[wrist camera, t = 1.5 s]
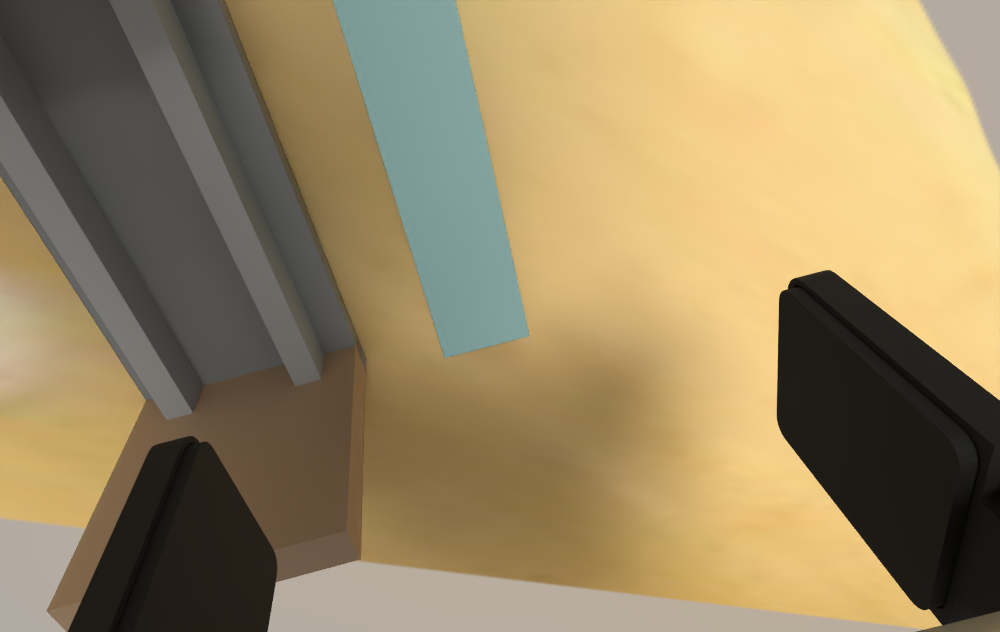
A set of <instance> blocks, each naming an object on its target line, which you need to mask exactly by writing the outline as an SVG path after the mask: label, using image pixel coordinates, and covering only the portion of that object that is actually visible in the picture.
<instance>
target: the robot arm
mask: <svg viewBox="0 0 1000 632" xmlns="http://www.w3.org/2000/svg"><path fill="white" fill-rule="evenodd" d="M777 421H778V425H779V428H780V431H781V433H782V435H783V436H784V438H785V439H786V441H787V442H788V443H789V445H790V446H791V447H792V448H793V450H794V451H795V452H796V454H797V455H798V456H799V457H800V459H801V460H802V461H803V463H804V464H805V465H806V466H807V468H808V469H809V470H810V472H811V473H812V474H813V475H814V477H815V478H816V479H817V481H818V482H819V483H820V484H821V486H822V487H823V488H824V490H825V491H826V492H827V493H828V495H829V496H830V497H831V499H832V500H833V501H834V502H835V504H836V505H837V506H838V508H839V509H840V510H841V511H842V513H843V514H844V515H845V517H846V518H847V519H848V520H849V522H850V523H851V524H852V526H853V527H854V528H855V529H856V531H857V532H858V533H859V535H860V536H861V537H862V538H863V540H864V541H865V542H866V544H867V545H868V546H869V547H870V549H871V550H872V551H873V553H874V554H875V555H876V556H877V558H878V559H879V560H880V562H881V563H882V564H883V565H884V567H885V568H886V569H887V571H888V572H889V573H890V574H891V576H892V577H893V578H894V580H895V581H896V582H897V583H898V585H899V586H900V587H901V589H902V590H903V591H904V592H905V594H906V595H907V596H908V598H909V599H910V600H911V601H912V602H913V603H914V604H915V605H916V606H917V607H918V608H920V609H922V610H927V609H930V610H931V611H932V613H933V614H934V615H935V616H936V618H937V619H938V620H939V621H940V623H941V624H942V626H938V627H934V628H930V629H926V630H921V631H917V632H1000V400H998V399H997V398H996V397H994V396H993V395H992V394H990V393H989V392H988V391H987V390H985V389H984V388H983V387H981V386H980V385H979V384H978V383H976V382H975V381H974V380H972V379H971V378H970V377H969V376H967V375H966V374H965V373H963V372H962V371H961V370H959V369H958V368H957V367H956V366H954V365H953V364H952V363H950V362H949V361H948V360H947V359H945V358H944V357H943V356H941V355H940V354H939V353H938V352H936V351H935V350H934V349H932V348H931V347H930V346H929V345H927V344H926V343H925V342H923V341H922V340H921V339H919V338H918V337H917V336H916V335H914V334H913V333H912V332H910V331H909V330H908V329H907V328H905V327H904V326H903V325H901V324H900V323H899V322H898V321H896V320H895V319H894V318H892V317H891V316H890V315H889V314H887V313H886V312H885V311H883V310H882V309H881V308H879V307H878V306H877V305H876V304H874V303H873V302H872V301H870V300H869V299H868V298H867V297H865V296H864V295H863V294H861V293H860V292H859V291H858V290H856V289H855V288H854V287H852V286H851V285H850V284H848V283H847V282H846V281H845V280H843V279H842V278H841V277H839V276H838V275H837V274H836V273H834V272H832V271H830V270H825V271H821V272H817V273H814V274H810V275H806V276H802V277H798V278H794V279H793V280H791V281H790V283H789V285H788V290H784V291H782V292H781V294H780V298H779V333H778V382H777ZM276 577H277V559H276V555H275V552H274V550H273V548H272V546H271V544H270V543H269V541H268V539H267V537H266V536H265V534H264V532H263V531H262V529H261V527H260V526H259V524H258V522H257V521H256V519H255V517H254V516H253V514H252V512H251V511H250V509H249V507H248V506H247V504H246V502H245V500H244V499H243V497H242V495H241V494H240V492H239V490H238V489H237V487H236V485H235V484H234V482H233V480H232V479H231V477H230V475H229V474H228V472H227V470H226V469H225V467H224V465H223V463H222V462H221V460H220V458H219V457H218V455H217V453H216V452H215V450H214V448H213V447H212V446H211V444H210V443H208V442H205V441H204V442H199V441H198V439H196V438H195V437H194V436H186V437H183V438H179V439H175V440H171V441H167V442H163V443H160V444H156V445H154V446H152V447H151V449H150V450H149V452H148V454H147V456H146V458H145V461H144V463H143V465H142V467H141V469H140V472H139V474H138V476H137V478H136V481H135V483H134V485H133V487H132V489H131V492H130V494H129V496H128V498H127V501H126V503H125V505H124V507H123V510H122V512H121V514H120V516H119V518H118V521H117V523H116V525H115V527H114V530H113V532H112V534H111V536H110V538H109V541H108V543H107V545H106V547H105V550H104V552H103V554H102V556H101V558H100V561H99V563H98V565H97V567H96V570H95V572H94V574H93V576H92V579H91V581H90V583H89V585H88V587H87V590H86V592H85V594H84V596H83V599H82V601H81V603H80V605H79V607H78V610H77V612H76V614H75V616H74V619H73V621H72V623H71V625H70V628H69V630H68V632H267V631H268V625H269V619H270V613H271V607H272V601H273V594H274V588H275V583H276Z"/></svg>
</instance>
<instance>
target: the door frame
mask: <svg viewBox="0 0 1000 632" xmlns="http://www.w3.org/2000/svg"><path fill="white" fill-rule="evenodd" d="M0 176H1V177H2V179H3V181H4V182H5V184H6V185H7V187H8V188H9V190H10V191H11V193H12V194H13V196H14V198H15V199H16V201H17V202H18V204H19V205H20V207H21V208H22V210H23V211H24V213H25V214H26V216H27V218H28V219H29V221H30V222H31V224H32V225H33V227H34V228H35V230H36V231H37V233H38V235H39V236H40V238H41V239H42V241H43V242H44V244H45V245H46V247H47V248H48V250H49V251H50V253H51V255H52V256H53V258H54V259H55V261H56V262H57V264H58V265H59V267H60V268H61V270H62V271H63V273H64V275H65V276H66V278H67V279H68V281H69V282H70V284H71V285H72V287H73V288H74V290H75V292H76V293H77V295H78V296H79V298H80V299H81V301H82V302H83V304H84V305H85V307H86V308H87V310H88V312H89V313H90V315H91V316H92V318H93V319H94V321H95V322H96V324H97V325H98V327H99V329H100V330H101V332H102V333H103V335H104V336H105V338H106V339H107V341H108V342H109V344H110V345H111V347H112V349H113V350H114V352H115V353H116V355H117V356H118V358H119V359H120V361H121V362H122V364H123V365H124V367H125V369H126V370H127V372H128V373H129V375H130V376H131V378H132V379H133V381H134V382H135V384H136V386H137V387H138V389H139V390H140V392H141V393H142V395H143V396H144V398H145V399H146V402H145V404H144V407H143V409H142V411H141V413H140V415H139V417H138V419H137V421H136V423H135V426H134V428H133V430H132V432H131V434H130V436H129V438H128V440H127V442H126V445H125V447H124V449H123V451H122V453H121V455H120V457H119V459H118V461H117V464H116V466H115V468H114V470H113V472H112V474H111V476H110V478H109V481H108V483H107V485H106V487H105V489H104V491H103V493H102V495H101V497H100V500H99V502H98V504H97V506H96V508H95V510H94V512H93V514H92V516H91V519H90V521H89V523H88V525H87V527H86V529H85V531H84V534H83V535H82V538H81V540H80V542H79V544H78V546H77V548H76V550H75V552H74V555H73V557H72V559H71V561H70V563H69V565H68V567H67V569H66V572H65V574H64V576H63V578H62V580H61V582H60V584H59V586H58V588H57V590H56V593H55V595H54V597H53V599H52V601H51V603H50V605H49V607H48V609H47V612H48V613H49V614H50V615H51V616H52V617H53V618H54V619H55V620H56V621H57V622H58V623H59V624H60V625H61V626H62V627H63V628H64V629H65V630H66V631H67V632H68V630H69V628H70V625H71V623H72V621H73V619H74V616H75V614H76V612H77V610H78V607H79V605H80V603H81V601H82V599H83V596H84V594H85V592H86V590H87V587H88V585H89V583H90V581H91V579H92V576H93V574H94V572H95V570H96V567H97V565H98V563H99V561H100V558H101V556H102V554H103V552H104V550H105V547H106V545H107V543H108V541H109V538H110V536H111V534H112V532H113V530H114V527H115V525H116V523H117V521H118V518H119V516H120V514H121V512H122V510H123V507H124V505H125V503H126V501H127V498H128V496H129V494H130V492H131V489H132V487H133V485H134V483H135V481H136V478H137V476H138V474H139V472H140V469H141V467H142V465H143V463H144V461H145V458H146V456H147V454H148V452H149V450H150V449H151V447H152V446H154V445H156V444H160V443H163V442H167V441H171V440H175V439H179V438H183V437H186V436H194V437H195V438H196V439H198V441H199V442H204V441H205V442H208V443H210V444H211V446H212V447H213V448H214V450H215V452H216V453H217V455H218V457H219V458H220V460H221V462H222V463H223V465H224V467H225V469H226V470H227V472H228V474H229V475H230V477H231V479H232V480H233V482H234V484H235V485H236V487H237V489H238V490H239V492H240V494H241V495H242V497H243V499H244V500H245V502H246V504H247V506H248V507H249V509H250V511H251V512H252V514H253V516H254V517H255V519H256V521H257V522H258V524H259V526H260V527H261V529H262V531H263V532H264V534H265V536H266V537H267V539H268V541H269V543H270V544H271V546H272V548H273V550H274V552H275V555H276V559H277V577H276V582H277V581H281V580H285V579H289V578H292V577H296V576H300V575H304V574H307V573H311V572H315V571H319V570H322V569H326V568H330V567H333V566H337V565H341V564H345V563H348V562H352V561H356V560H359V559H361V527H362V488H363V449H364V410H365V371H366V358H365V356H364V353H363V350H362V348H361V345H360V343H359V340H358V338H357V335H356V333H355V330H354V328H353V325H352V323H351V320H350V317H349V315H348V312H347V310H346V307H345V305H344V302H343V300H342V297H341V295H340V292H339V290H338V287H337V285H336V282H335V279H334V277H333V274H332V272H331V269H330V267H329V264H328V262H327V259H326V257H325V254H324V252H323V249H322V247H321V244H320V241H319V239H318V236H317V234H316V231H315V229H314V226H313V224H312V221H311V219H310V216H309V214H308V211H307V209H306V206H305V203H304V201H303V198H302V196H301V193H300V191H299V188H298V186H297V183H296V181H295V178H294V176H293V173H292V170H291V168H290V165H289V163H288V160H287V158H286V155H285V153H284V150H283V148H282V145H281V143H280V140H279V138H278V135H277V132H276V130H275V127H274V125H273V122H272V120H271V117H270V115H269V112H268V110H267V107H266V105H265V102H264V100H263V97H262V94H261V92H260V89H259V87H258V84H257V82H256V79H255V77H254V74H253V72H252V69H251V67H250V64H249V62H248V59H247V56H246V54H245V51H244V49H243V46H242V44H241V41H240V39H239V36H238V34H237V31H236V29H235V26H234V23H233V21H232V18H231V16H230V13H229V11H228V8H227V6H226V3H225V1H224V0H0Z"/></svg>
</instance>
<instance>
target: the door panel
mask: <svg viewBox="0 0 1000 632" xmlns="http://www.w3.org/2000/svg"><path fill="white" fill-rule="evenodd" d="M333 3H334V6H335V9H336V13H337V16H338V19H339V22H340V25H341V29H342V32H343V35H344V38H345V41H346V45H347V48H348V51H349V54H350V57H351V61H352V64H353V67H354V70H355V73H356V77H357V80H358V83H359V86H360V89H361V93H362V96H363V99H364V102H365V105H366V109H367V112H368V115H369V118H370V121H371V124H372V128H373V131H374V134H375V137H376V140H377V144H378V147H379V150H380V153H381V156H382V160H383V163H384V166H385V169H386V172H387V176H388V179H389V182H390V185H391V188H392V192H393V195H394V198H395V201H396V204H397V208H398V211H399V214H400V217H401V220H402V224H403V227H404V230H405V233H406V236H407V239H408V243H409V246H410V249H411V252H412V255H413V259H414V262H415V265H416V268H417V271H418V275H419V278H420V281H421V284H422V287H423V291H424V294H425V297H426V300H427V303H428V307H429V310H430V313H431V316H432V319H433V323H434V326H435V329H436V332H437V335H438V339H439V342H440V345H441V348H442V351H443V354H444V358H448V357H452V356H455V355H459V354H463V353H467V352H471V351H474V350H478V349H482V348H486V347H490V346H493V345H497V344H501V343H505V342H509V341H512V340H516V339H520V338H524V337H528V336H530V335H529V331H528V326H527V322H526V317H525V313H524V308H523V304H522V299H521V295H520V290H519V286H518V281H517V276H516V272H515V267H514V263H513V258H512V254H511V249H510V245H509V240H508V236H507V231H506V227H505V222H504V217H503V213H502V208H501V204H500V199H499V195H498V190H497V186H496V181H495V177H494V172H493V168H492V163H491V159H490V154H489V149H488V145H487V140H486V136H485V131H484V127H483V122H482V118H481V113H480V109H479V104H478V100H477V95H476V90H475V86H474V81H473V77H472V72H471V68H470V63H469V59H468V54H467V50H466V45H465V41H464V36H463V32H462V27H461V22H460V18H459V13H458V9H457V4H456V0H333Z"/></svg>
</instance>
